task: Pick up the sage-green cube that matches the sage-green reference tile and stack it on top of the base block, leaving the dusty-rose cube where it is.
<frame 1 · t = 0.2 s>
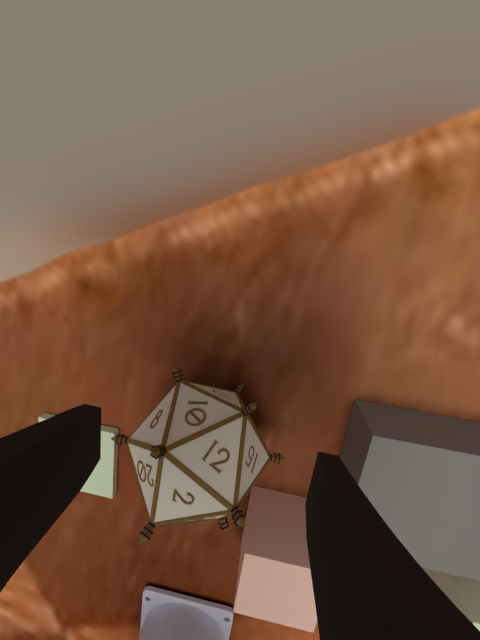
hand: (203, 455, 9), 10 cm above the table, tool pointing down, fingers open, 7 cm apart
reference tile: (81, 453, 23), on the table
game die: (215, 409, 21), on the table
sage cube: (453, 569, 21), on the table
rose cube: (279, 518, 22), on the table
base block: (399, 459, 20), on the table
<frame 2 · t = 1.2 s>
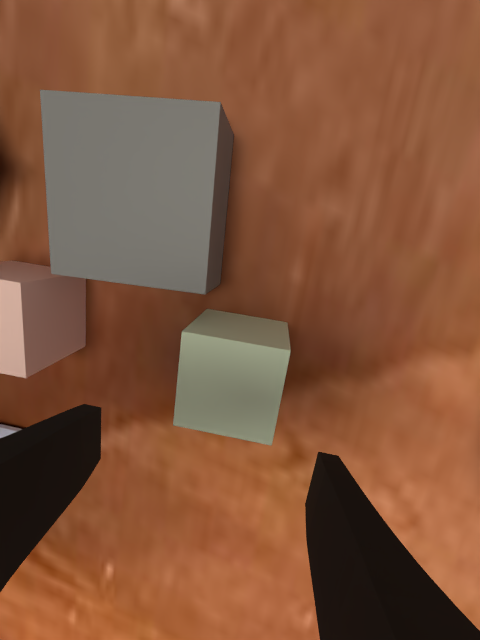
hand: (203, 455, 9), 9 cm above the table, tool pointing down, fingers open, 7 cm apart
sage cube: (241, 352, 19), on the table
rose cube: (51, 304, 19), on the table
base block: (160, 207, 17), on the table
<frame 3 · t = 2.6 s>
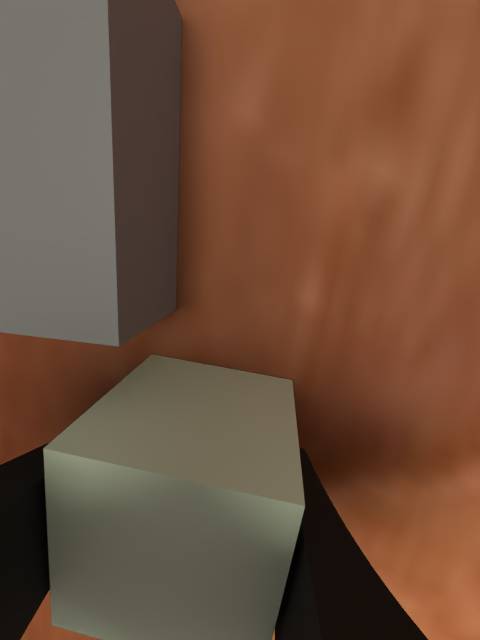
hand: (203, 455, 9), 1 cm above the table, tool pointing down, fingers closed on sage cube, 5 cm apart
sage cube: (212, 428, 11), on the table, touching gripper
base block: (62, 175, 10), on the table
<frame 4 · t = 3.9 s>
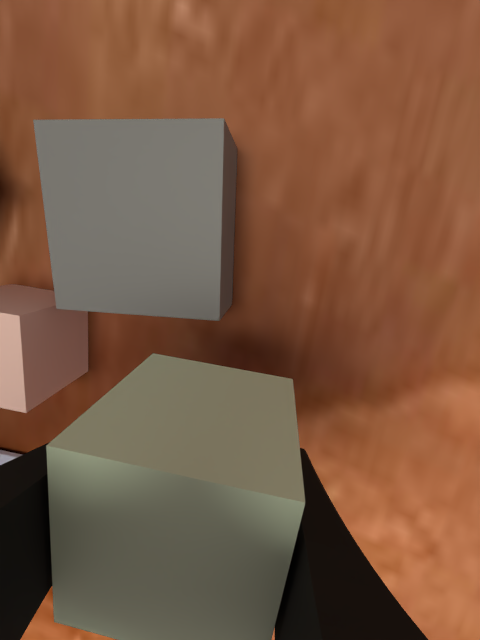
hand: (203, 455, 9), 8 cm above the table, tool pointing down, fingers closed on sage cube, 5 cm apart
sage cube: (213, 427, 11), point 7 cm above the table, touching gripper
rose cube: (52, 328, 19), on the table
base block: (165, 229, 17), on the table
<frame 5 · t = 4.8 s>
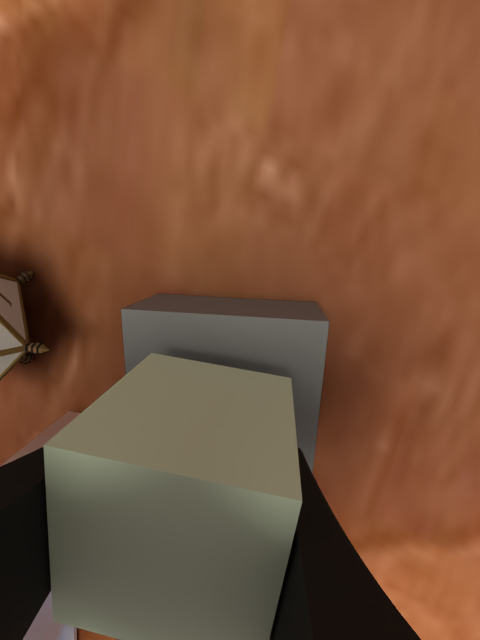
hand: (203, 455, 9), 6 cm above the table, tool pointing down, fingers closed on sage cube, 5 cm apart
game die: (12, 311, 17), on the table
sage cube: (212, 426, 11), point 5 cm above the table, touching gripper
rose cube: (107, 452, 18), on the table
base block: (233, 369, 16), on the table
when the fingers open (6 cm above the table, at t = 5.2 s): sage cube drops 1 cm, point 4 cm above the table.
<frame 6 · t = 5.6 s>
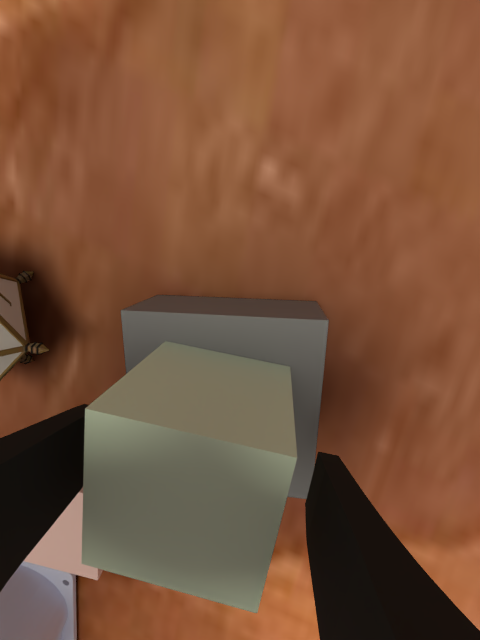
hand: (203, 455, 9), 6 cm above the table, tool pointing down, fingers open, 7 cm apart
game die: (12, 311, 17), on the table
sage cube: (217, 409, 12), point 4 cm above the table
rose cube: (107, 452, 18), on the table
base block: (234, 369, 16), on the table
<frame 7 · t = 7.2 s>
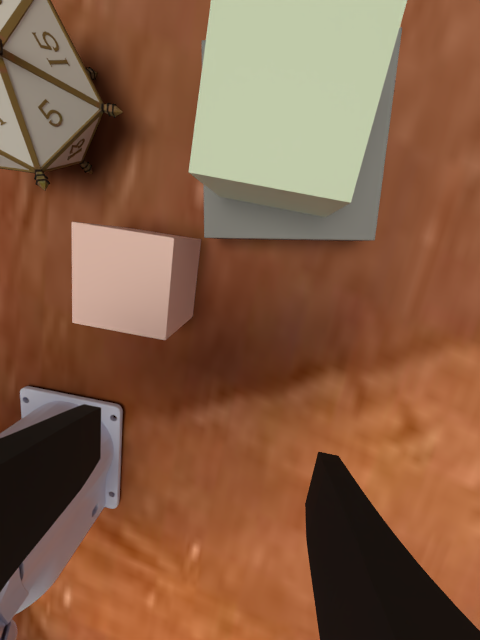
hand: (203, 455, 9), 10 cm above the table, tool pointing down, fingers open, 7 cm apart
game die: (73, 122, 18), on the table
sage cube: (284, 147, 13), point 4 cm above the table, touching base block
rose cube: (159, 272, 19), on the table
base block: (288, 167, 17), on the table, touching sage cube
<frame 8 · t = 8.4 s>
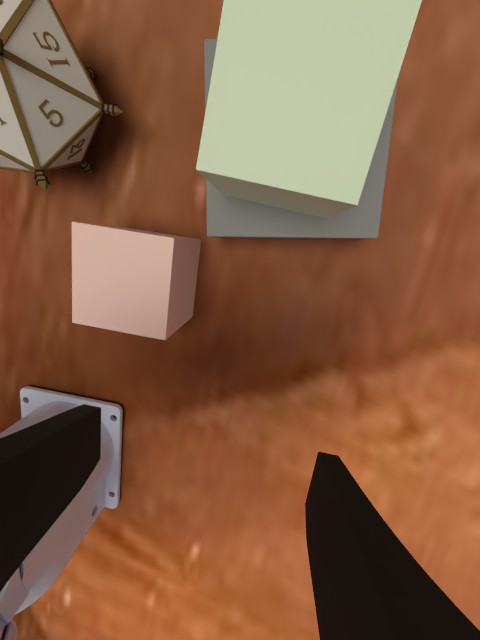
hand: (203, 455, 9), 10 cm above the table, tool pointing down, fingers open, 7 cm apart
game die: (73, 122, 18), on the table
sage cube: (290, 148, 13), point 4 cm above the table
rose cube: (159, 272, 19), on the table
base block: (290, 166, 17), on the table
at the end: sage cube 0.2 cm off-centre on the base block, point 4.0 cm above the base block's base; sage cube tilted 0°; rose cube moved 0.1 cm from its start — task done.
